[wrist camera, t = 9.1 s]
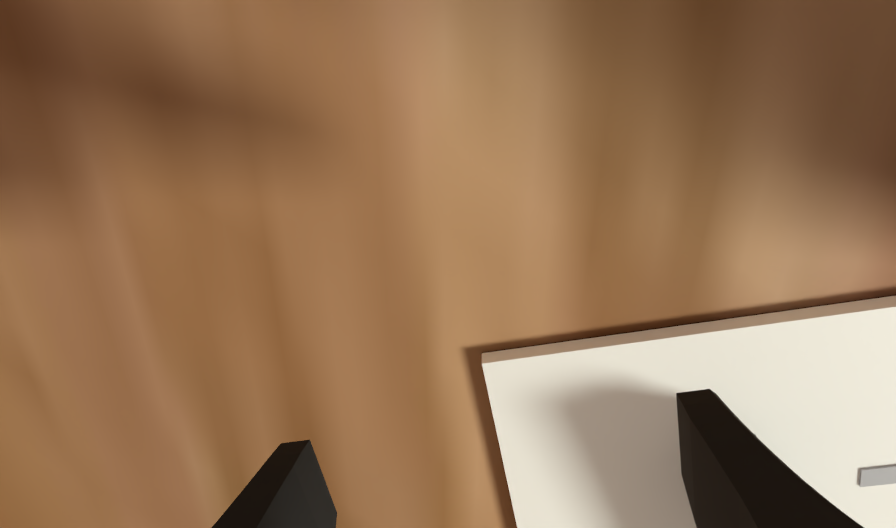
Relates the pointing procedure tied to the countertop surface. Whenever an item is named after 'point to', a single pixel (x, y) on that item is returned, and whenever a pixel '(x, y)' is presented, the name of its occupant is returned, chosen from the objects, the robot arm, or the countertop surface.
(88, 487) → the countertop surface
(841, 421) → the board
